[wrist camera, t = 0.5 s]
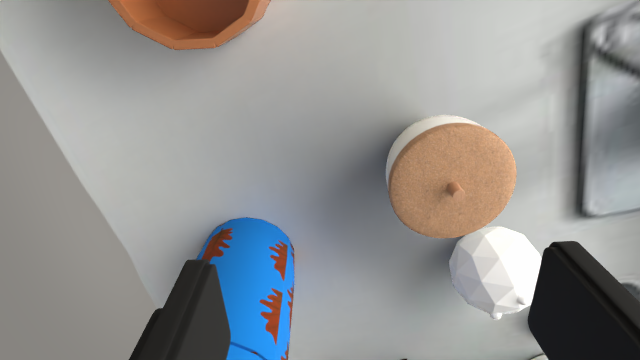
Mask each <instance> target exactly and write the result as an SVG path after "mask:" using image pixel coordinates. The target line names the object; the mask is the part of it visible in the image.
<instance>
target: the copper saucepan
mask: <svg viewBox="0 0 640 360" xmlns="http://www.w3.org/2000/svg"><path fill="white" fill-rule="evenodd" d="M108 1H109V2H110V3H111V5H112V6H113V7H114V8H115V10H116V11H117V12H118V13H119V15H120V16H121V17H122V18H123V20H124V21H125V22H126V23H127V25H128V26H129V27H130V28H131V27H132V30H134V31H136V32H138V33H140V34H142V35H144V36H146V37H148V38H150V39H152V40H154V41H156V42H158V43H160V44H162V45H164V46H166V47H168V48H170V49H174V50H184V49H204V48H216V47H219V46H220V45H222V44H224V43H226V42H228V41H230V40H232V39H234V38H235V37H237V36H238V35H239V34H241V33H242V32H244V31H245V30H246V29H248V28H249V27H251V26H252V25H253V24H255V23H256V22H257V21H259V20H260V19H261V18H262V17H263V16H264V13H265V11H266V8H267V6H268V4H269V2H270V0H108Z"/></svg>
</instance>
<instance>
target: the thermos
mask: <svg viewBox="0 0 640 360" xmlns="http://www.w3.org/2000/svg"><path fill="white" fill-rule="evenodd" d="M200 259H207V260H209V262H210V264H215V265H216V268H217V272H218V277H219V281H220V286H221V290H222V295H223V300H224V304H225V309H226V313H227V318H228V322H229V327H230V332H231V341H230V347H229V351H228V355H227V359H226V360H288V351H289V340H290V328H291V317H292V305H293V293H294V248H293V246H292V244H291V242H290V240H289V238H288V237H287V236H286V235H285V234H284V233H283V232H282V231H281V230H280V229H279V228H278V227H277V226H275V225H273V224H270V223H268V222H266V221H264V220H260V219H254V218H247V217H246V218H240V219H233V220H230V221H228V222H226V223H224V224H222V225H220V226H218V227H217V228H216V229H215V230H214V232H213V233H212V234H211V235H210V236H209V238H208V239H207V241H206V243H205V245H204V246H203V248H202V250H201V252H200V254H199V255H198V257H197V259H196V260H200Z"/></svg>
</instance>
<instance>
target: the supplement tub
mask: <svg viewBox="0 0 640 360" xmlns="http://www.w3.org/2000/svg"><path fill="white" fill-rule="evenodd" d="M532 360H548V358H547V357H546V355H545V354H544V355H540V356H538V357H535V358H533V359H532Z"/></svg>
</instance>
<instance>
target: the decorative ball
mask: <svg viewBox="0 0 640 360" xmlns="http://www.w3.org/2000/svg"><path fill="white" fill-rule="evenodd" d="M540 265H541V257H540V255H539V253H538V252H537V251H536V250H535V248H534V247H533V246H532V245H531V243H530V242H529V241H528V240H527V238H526V237H525V236H524V235H523V234H521V233H518V232H515V231H512V230H509V229H506V228H503V227H500V226H499V227H485V228H481V229H479V230H477V231H475V232H473V233H470V234H467V235H466V236H464V237H463V238H462V239H460V240H459V241H458V242H457V244H456V247H455V249H454V251H453V253H452V256H451V258H450V260H449V266H450V272H451V277H452V282H453V286H454V287H455V289H456V290H457V291H458V292H459V293H460V295H461V296H462V297H463V298H464V300H465V301H466V302H467V303H468V304H470V305H472V306H474V307H476V308H478V309H481V310H483V311H485V312H487V313H489V314H490V317H491V318H493V319H494V320H499V319H500V318H501V317H502V314H509V313H517V312H518V311H520V310H522V309H524V308H525V307H527V306H529V305H530V304H531V303H532V299H533V294H534V290H535V286H536V282H537V277H538V273H539V269H540Z"/></svg>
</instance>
